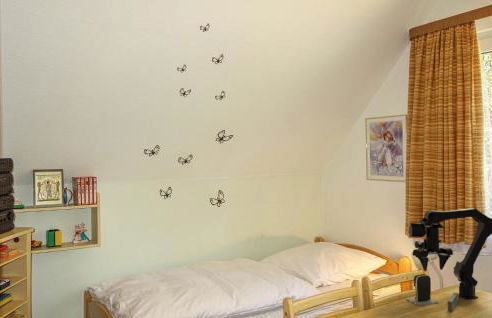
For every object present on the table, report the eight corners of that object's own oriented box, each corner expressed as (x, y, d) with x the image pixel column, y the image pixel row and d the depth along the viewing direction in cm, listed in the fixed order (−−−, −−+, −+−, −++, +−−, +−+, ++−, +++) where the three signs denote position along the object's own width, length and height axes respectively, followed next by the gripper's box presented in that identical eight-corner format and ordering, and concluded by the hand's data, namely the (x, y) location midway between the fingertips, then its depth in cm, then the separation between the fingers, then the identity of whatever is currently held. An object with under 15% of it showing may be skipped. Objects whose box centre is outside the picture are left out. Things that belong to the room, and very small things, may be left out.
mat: (423, 297, 195) (423, 296, 195) (437, 303, 186) (437, 301, 186) (405, 299, 192) (405, 298, 192) (419, 305, 183) (419, 304, 183)
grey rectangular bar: (453, 301, 188) (453, 292, 188) (458, 302, 187) (458, 293, 187) (446, 310, 176) (446, 301, 176) (452, 311, 175) (452, 302, 175)
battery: (425, 297, 192) (425, 272, 191) (431, 300, 188) (431, 275, 187) (412, 299, 190) (412, 274, 189) (418, 302, 186) (417, 277, 186)
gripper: (436, 233, 208) (436, 265, 207) (404, 235, 202) (405, 268, 202) (453, 237, 197) (454, 270, 197) (420, 239, 192) (421, 273, 191)
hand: (433, 270), depth 197 cm, fingers open, 9 cm apart
